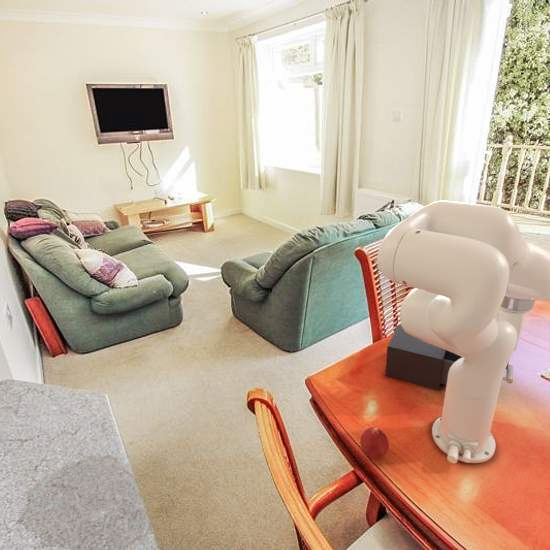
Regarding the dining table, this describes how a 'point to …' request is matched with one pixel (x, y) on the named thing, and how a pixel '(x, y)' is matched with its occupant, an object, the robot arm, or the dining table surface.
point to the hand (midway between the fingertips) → (499, 366)
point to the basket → (452, 357)
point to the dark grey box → (414, 360)
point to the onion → (374, 443)
